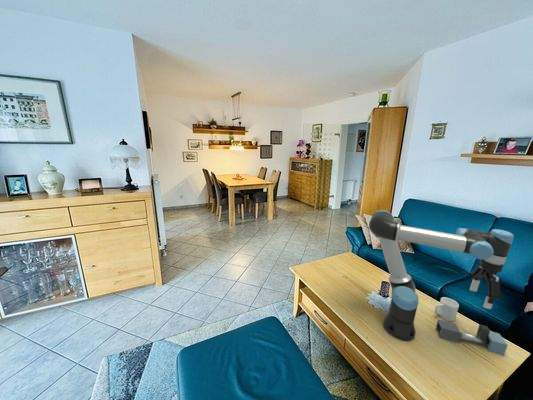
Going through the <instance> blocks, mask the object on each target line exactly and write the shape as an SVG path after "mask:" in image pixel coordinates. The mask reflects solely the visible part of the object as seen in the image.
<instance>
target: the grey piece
mask: <svg viewBox="0 0 533 400" xmlns="http://www.w3.org/2000/svg"><path fill="white" fill-rule="evenodd" d="M490 331H491V330H490V328H489V327H488V326H487V325H483V324H479V325H478V327H477V330H476V334H472V333H468V332H464V331H460V332H461V336H460V339H461V340H462V339H463V340H466V341H469V342H472V343H473V342H474V343H477V344H481V345H484V346H488V345H489V342H490V340H489V339H488V336H489V333H490Z"/></svg>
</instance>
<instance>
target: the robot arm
mask: <svg viewBox="0 0 533 400" xmlns="http://www.w3.org/2000/svg"><path fill="white" fill-rule="evenodd" d="M368 229H369V231H370V232H371V233H372V234H373V235H374V237H375V238H377V239H378V241H379V244H380V247H381V250H382V252H383V256H384V259H385V263H386V266H387V268H388V272H389V275H390V276H389V277H388V281H389V284H390V287H391V296H390V297H391V298H390V305H389V310H388V313H387V314H386V315H385V317H384V319H383V328H384V330H385V331H386V332H387V333H388V334H389V335H390V336H392V337H393V338H396V339H398V340H400V341H404V342H410V341H413V340H414V339H415V337H416V333H417V332H416V327H415V323H414V322H415V319H416V314H417V309H418V306H419V295H418V294H417V292H416V289H417V288H416V285H415V283H414V281H413V278H412V277H411V275H410V274H408V273H407V270H406V266H405V263H404V260H403V257H402V254H401V251H400V247H399V245H398V241H404V242H408V243H413V244H419V245H422V246H423V245H424V246H430V247H434V248H438V249H444V250H449V251H453V252H458V253H463V254H468V255H471V256H472V257H474V258H475V259H478V260H480V263H478V264H477V266H476V268H475V269H474V270H473V271H472V272H471V273H470V276H472V280H471V281H472V282H471V284H470V287H469V291H470V292H476V293H477V291H478V288H479V285H480V283H481V280H482V279H483V278H484V279H485V282H486V283H487V284H486V285H487V292H488V293H487V295H486V297H485V300H484V303H483V304H482V307H483V309H488V310H492V308H493V305H494V303H495V301H496V300H500V299H501V280H502V278H501V277H500V276H499V277H498V276H497V274H498V273H502V271H503V268H504V264H505V262H506V261H507V256H508V254H509V252H510V249H511V247H512V245H513V240H514V236H515V235H514V233H512V232H510V231H507V230H503V229H498V228H497V229H496V228H494V229H491V231H489V232H486V231H481V230H475V229H470V228H463V227H459V228H457V229H456V230H455V234H454V233H448V232H442V231H436V230H431V229H426V228H420V227H414V226H407V225H402V224H401V223H400V222H398V221H395V218H394V216H393V214H392V213H390V212H389V211H388V210H383V209H381V210H378V211H376V212H374V213H372V215H371V217H370V221H369V223H368Z"/></svg>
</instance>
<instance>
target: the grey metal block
mask: <svg viewBox="0 0 533 400" xmlns="http://www.w3.org/2000/svg"><path fill="white" fill-rule="evenodd" d="M435 325H436V327H435V331H438V332H439V336H438V337H439V339H442V340H445V341H449V342H454V343H458V344H459V343H460V339H461V338H460V336H461V332H462V331H461V330H460V328H459V327H458V325H457V323H454V322H452V321H447V320H443V319H437V321H436V324H435Z"/></svg>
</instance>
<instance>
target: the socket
mask: <svg viewBox="0 0 533 400" xmlns="http://www.w3.org/2000/svg"><path fill="white" fill-rule="evenodd" d="M488 339H489V340H490V342H489V345H487V351H488V352H490V353H494V354H498V355H500V356H501V355H502V356H505V354H506V351H507V349H508V346H509V344H508V343H507V342H506V340H505V339H504V337H502V335H501V334H500V333H498V332H494V331H491V330H490V333H489V336H488Z"/></svg>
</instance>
